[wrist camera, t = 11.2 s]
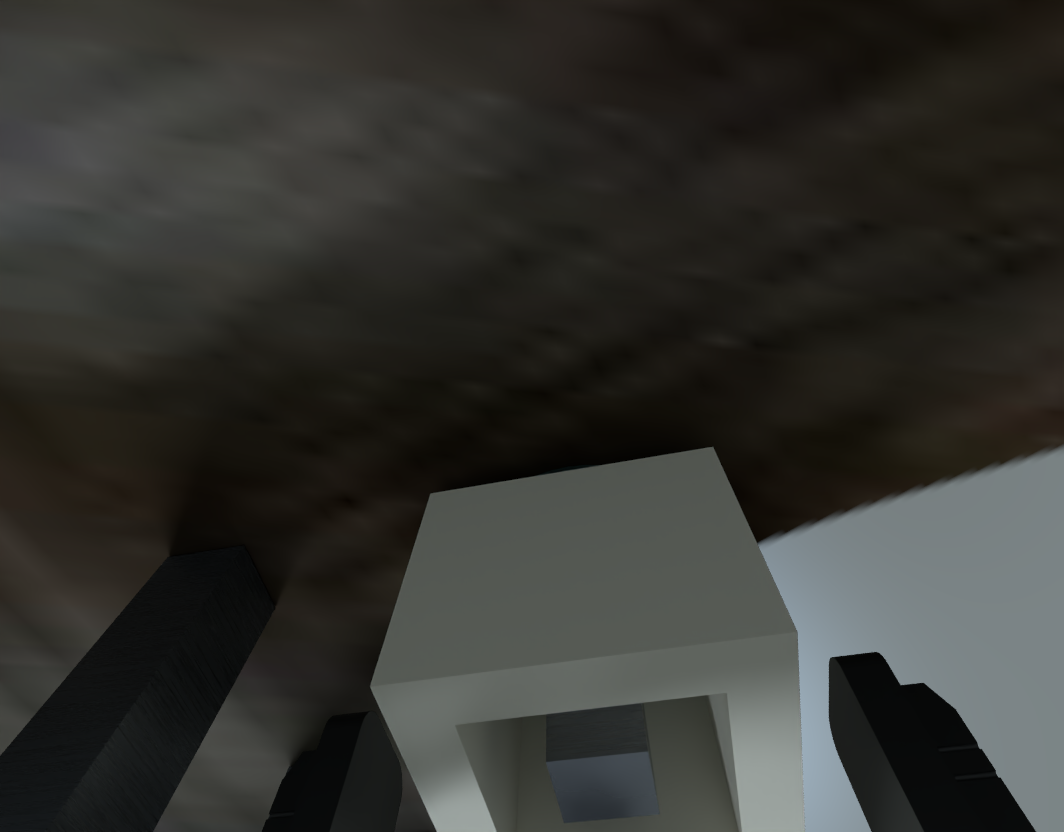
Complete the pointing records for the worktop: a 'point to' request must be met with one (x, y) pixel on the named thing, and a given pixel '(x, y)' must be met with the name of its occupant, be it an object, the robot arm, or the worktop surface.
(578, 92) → the worktop surface
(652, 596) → the white square tube
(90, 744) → the rail
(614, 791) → the peg
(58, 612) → the worktop surface
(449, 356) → the worktop surface
